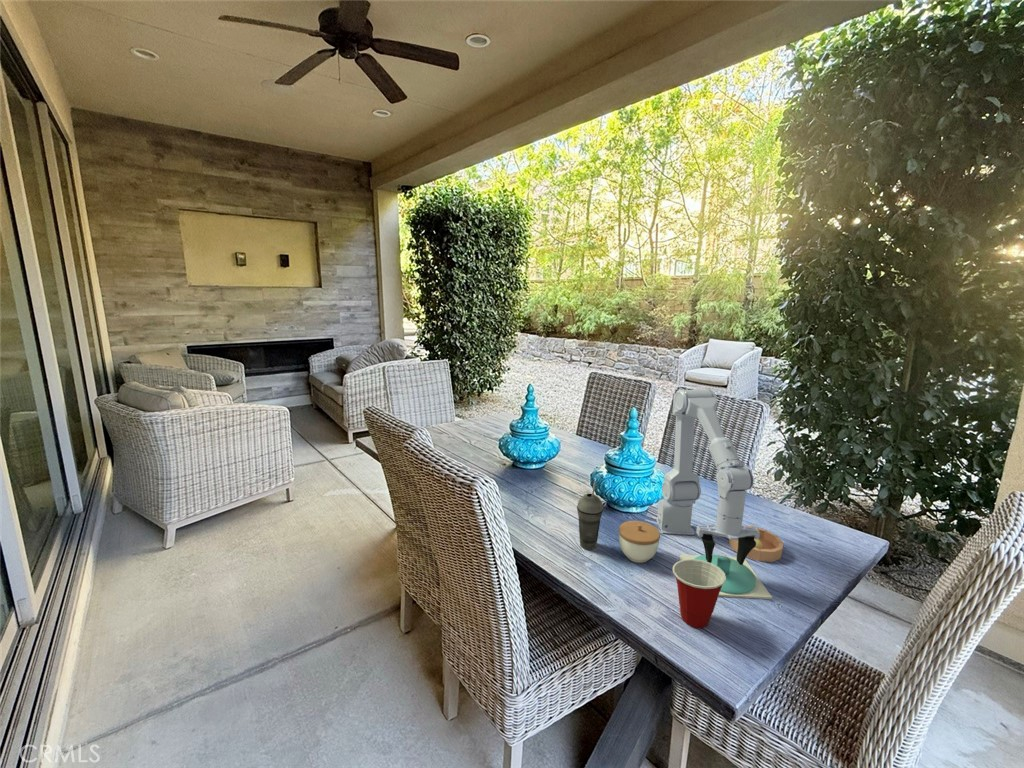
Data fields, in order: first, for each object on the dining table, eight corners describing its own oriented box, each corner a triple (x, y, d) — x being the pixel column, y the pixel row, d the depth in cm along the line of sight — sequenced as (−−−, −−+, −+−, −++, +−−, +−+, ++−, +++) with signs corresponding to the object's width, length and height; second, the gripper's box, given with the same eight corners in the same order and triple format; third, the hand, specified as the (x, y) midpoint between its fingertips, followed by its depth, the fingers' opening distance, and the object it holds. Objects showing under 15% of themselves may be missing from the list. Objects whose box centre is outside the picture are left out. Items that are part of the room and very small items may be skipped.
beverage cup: (585, 535, 135) (588, 472, 130) (606, 545, 130) (610, 480, 125) (569, 545, 130) (572, 479, 125) (591, 556, 125) (594, 488, 120)
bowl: (740, 563, 124) (741, 550, 123) (722, 536, 136) (723, 525, 136) (790, 565, 123) (792, 552, 122) (767, 539, 135) (769, 527, 135)
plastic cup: (685, 595, 109) (690, 550, 107) (729, 621, 101) (735, 573, 98) (658, 615, 103) (662, 567, 100) (702, 644, 95) (708, 594, 92)
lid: (699, 591, 110) (701, 575, 109) (684, 555, 125) (686, 540, 124) (765, 596, 109) (768, 580, 108) (742, 559, 123) (744, 545, 122)
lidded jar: (651, 573, 118) (654, 540, 116) (611, 559, 123) (613, 528, 121) (662, 552, 127) (665, 521, 125) (624, 541, 132) (626, 511, 130)
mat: (698, 595, 110) (698, 593, 109) (679, 556, 125) (679, 554, 125) (771, 599, 108) (772, 597, 108) (743, 559, 124) (743, 557, 124)
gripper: (705, 519, 109) (699, 569, 113) (768, 522, 108) (760, 573, 112) (696, 505, 116) (690, 553, 119) (755, 508, 115) (748, 556, 118)
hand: (723, 561), depth 116 cm, fingers open, 7 cm apart
